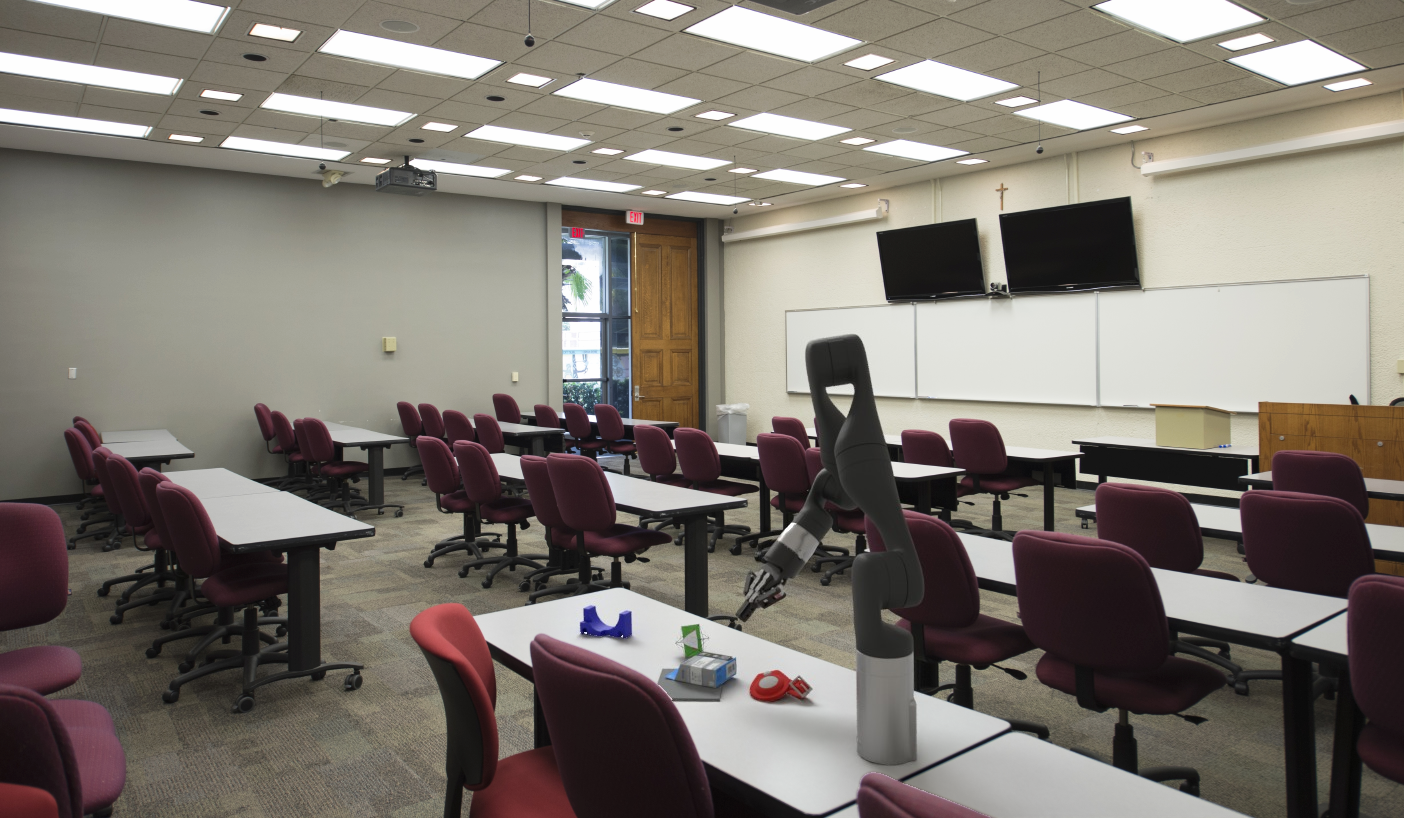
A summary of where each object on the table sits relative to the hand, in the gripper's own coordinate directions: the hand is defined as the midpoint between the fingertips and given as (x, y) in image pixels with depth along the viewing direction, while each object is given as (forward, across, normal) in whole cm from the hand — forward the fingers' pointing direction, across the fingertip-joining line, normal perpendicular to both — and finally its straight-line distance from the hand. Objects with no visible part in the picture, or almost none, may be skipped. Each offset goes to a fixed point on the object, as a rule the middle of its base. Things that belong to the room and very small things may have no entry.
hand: (739, 618), depth 171 cm
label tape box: (+10, -1, +6) cm, 12 cm away
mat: (+16, -4, +3) cm, 17 cm away
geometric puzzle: (+12, -20, +9) cm, 25 cm away
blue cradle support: (+22, -43, +1) cm, 48 cm away
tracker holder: (+7, +9, +12) cm, 17 cm away
